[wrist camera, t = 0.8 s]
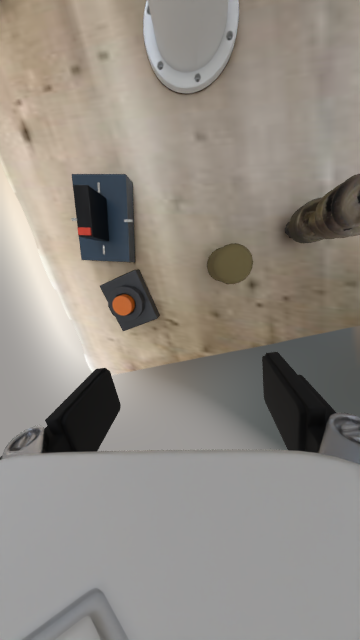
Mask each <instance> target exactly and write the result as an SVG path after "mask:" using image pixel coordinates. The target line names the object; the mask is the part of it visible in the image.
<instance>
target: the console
mask: <svg viewBox="0 0 360 640" xmlns="http://www.w3.org/2000/svg"><path fill="white" fill-rule="evenodd" d="M72 181H73V185H89V186H90V187H91V188H93V189H94V190H96V191H97V192H98V193H100V194H101V195H102V196H104V197H105V198H106V203H107V217H108V231H109V241H96V240H91V239H87V238H83V237H79V241H80V250H81V258H82V260H96V261H118V262H135V244H134V211H133V183H132V181H131V180H130V179H129V178H128V177H127V175H126V174H72ZM71 219H72V221H77V218H71Z"/></svg>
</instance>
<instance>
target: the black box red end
mask: <svg viewBox="0 0 360 640" xmlns="http://www.w3.org/2000/svg"><path fill="white" fill-rule="evenodd" d="M73 190H74V198H75V207H76V216H77V224H78V235H79V237H83V238H87V239H91V240H96V241H109V231H108V217H107V203H106V198H105V197H104V196H102V195H101V194H100V193H98V192H97V191H96V190H94V189H93V188H91V187H90V186H89V185H73Z"/></svg>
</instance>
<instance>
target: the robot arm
mask: <svg viewBox="0 0 360 640" xmlns="http://www.w3.org/2000/svg"><path fill="white" fill-rule="evenodd" d="M238 22H239V0H147V1H146V5H145V11H144V19H143V33H144V41H145V47H146V51H147V55H148V58H149V61H150V64H151V67H152V69H153V71H154V72H155V74H156V76H157V77H158V78H159V80H160V81H161V82H162V83H163V84H164V85H165V86H167V87H168V88H169V89H171V90H173V91H175V92H179V93H194V92H197V91H200V90H202V89H204V88H205V87H207V86H209V85H210V84H211V83H212V82H213V81H214V80H215V79H216V78H217V77H218V76H219V75H220V73H221V72H222V71H223V69H224V67H225V66H226V64H227V62H228V60H229V58H230V55H231V53H232V50H233V47H234V43H235V39H236V35H237V28H238ZM262 362H263V386H264V399H265V402H266V404H267V407H268V409H269V411H270V413H271V415H272V417H273V419H274V421H275V424H276V426H277V428H278V430H279V432H280V434H281V436H282V438H283V441H284V442H285V445H286V447H287V449H288V450H149V451H148V450H147V451H99V452H98V451H97V450H98V449H99V446H100V445H101V443H102V441H103V440H104V438H105V436H106V434H107V432H108V430H109V429H110V427H111V425H112V423H113V421H114V420H115V418H116V416H117V414H118V412H119V410H120V402H119V398H118V395H117V392H116V389H115V386H114V383H113V380H112V377H111V373H110V371H109V370H107V369H106V368H101V369H96V370H95V371H94V372H93V373H92V374H91V375H90V376H89V377H88V378H87V379H86V380H85V381H84V382H83V383H82V384H81V385H80V386H79V387H78V388H77V389H76V390H75V391H74V392H73V393H72V394H71V395H70V396H69V397H68V398H67V399H66V400H65V401H64V402H63V403H62V404H61V405H60V406H59V407H58V408H57V409H56V410H55V411H54V412H53V413H52V414H51V415H50V416H49V417H48V418H47V419H46V420H45V421H46V423H47V425H48V426H47V427H46V428H45V429H44V427H43V426H34V427H31V428H29V429H27V430H25V431H23V432H21V433H20V434H19V435H17V436H16V437H15V438H13V439H12V440H11V441H10V442H9V444H8V445H7V446H6V448H5V450H4V453H3V455H2V456H1V457H0V640H360V417H359V416H356V415H352V414H348V413H336V412H335V411H334V410H333V409H332V407H331V406H330V405H329V404H328V403H327V402H326V401H325V400H324V399H323V398H322V397H321V395H320V394H319V393H318V392H317V391H316V390H315V389H314V388H313V387H312V386H311V385H310V384H309V382H308V381H307V380H306V379H305V378H304V377H303V376H302V375H297V374H296V372H295V371H294V370H293V369H292V368H291V367H290V366H289V364H288V363H287V362H286V361H285V360H284V359H283V358H282V357H281V356H280V354H279V353H278V352H273V353H266V355H265V356H263V357H262Z"/></svg>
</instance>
